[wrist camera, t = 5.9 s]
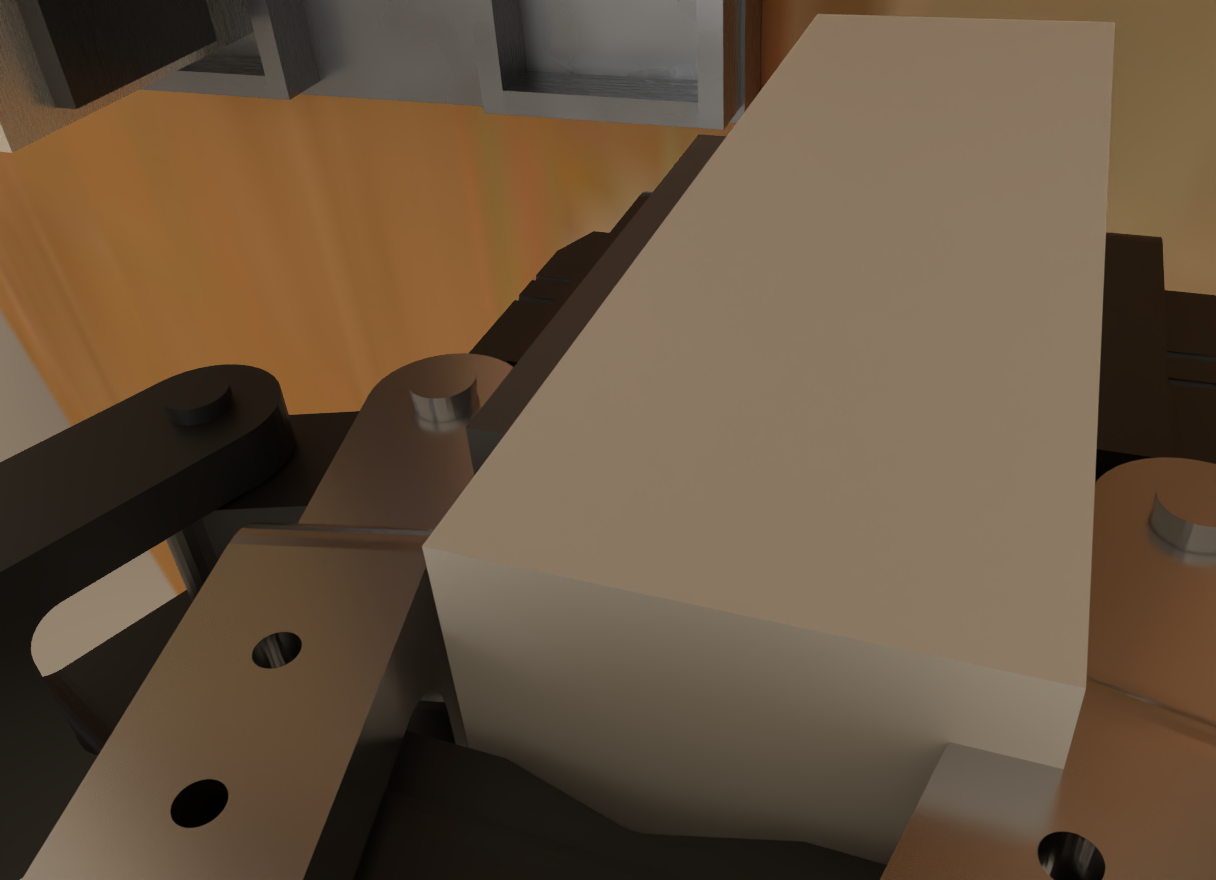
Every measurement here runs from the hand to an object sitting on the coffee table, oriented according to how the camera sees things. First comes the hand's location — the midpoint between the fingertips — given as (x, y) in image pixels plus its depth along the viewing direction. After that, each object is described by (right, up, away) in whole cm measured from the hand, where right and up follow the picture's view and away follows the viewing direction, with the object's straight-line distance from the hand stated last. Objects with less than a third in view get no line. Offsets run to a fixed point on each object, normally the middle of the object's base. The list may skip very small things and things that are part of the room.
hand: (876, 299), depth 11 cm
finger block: (+1, +1, +2) cm, 2 cm away
